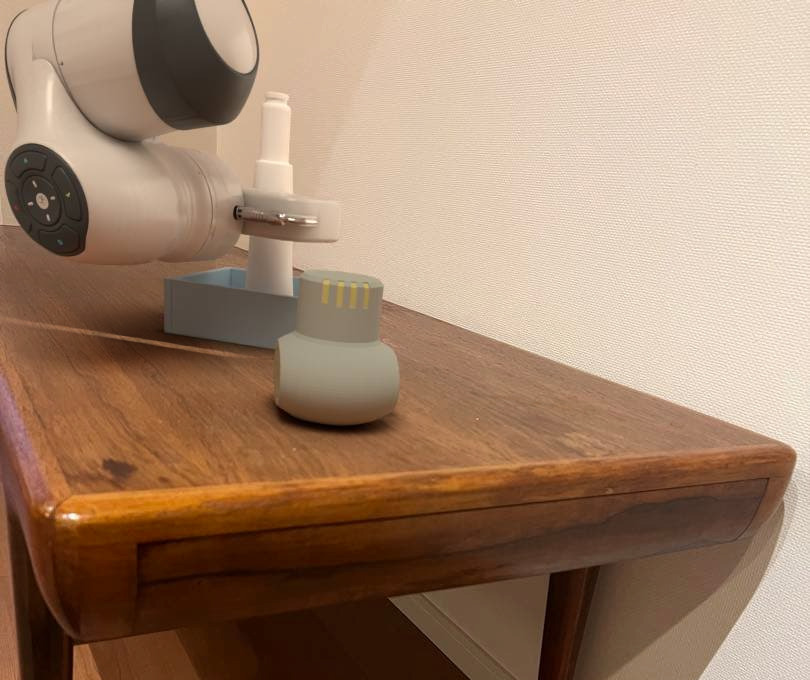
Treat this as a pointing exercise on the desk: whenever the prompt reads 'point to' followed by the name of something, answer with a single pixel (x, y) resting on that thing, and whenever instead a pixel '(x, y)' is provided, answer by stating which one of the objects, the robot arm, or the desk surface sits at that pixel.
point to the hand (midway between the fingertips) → (278, 209)
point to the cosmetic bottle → (274, 173)
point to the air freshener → (336, 353)
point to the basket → (227, 308)
